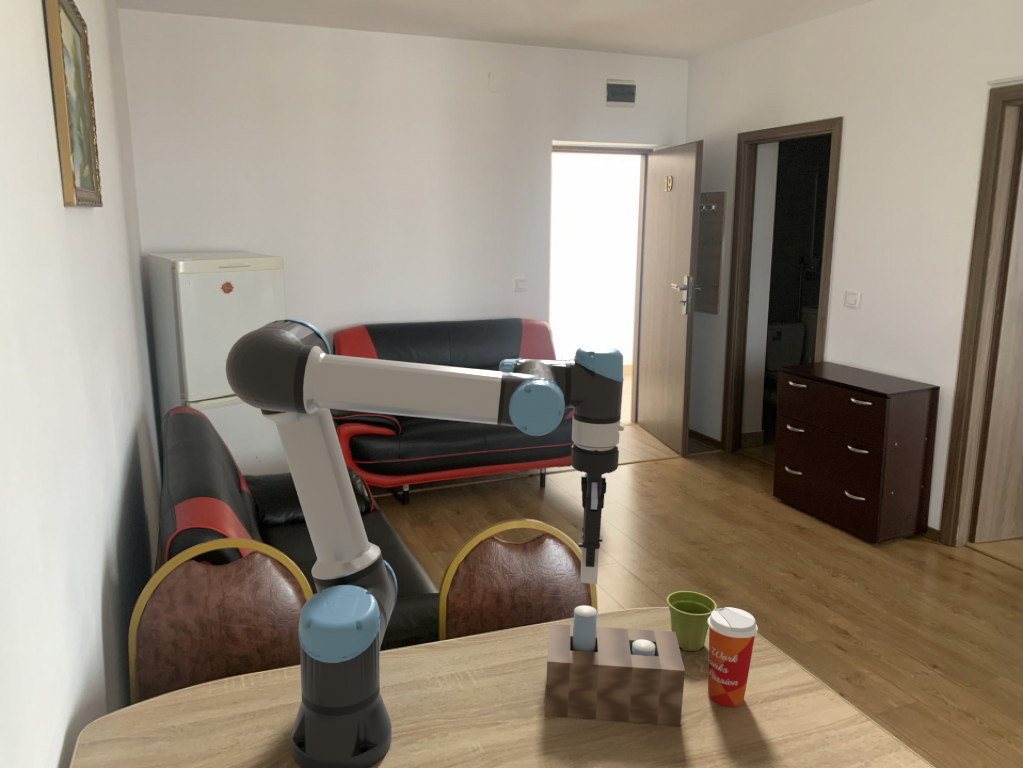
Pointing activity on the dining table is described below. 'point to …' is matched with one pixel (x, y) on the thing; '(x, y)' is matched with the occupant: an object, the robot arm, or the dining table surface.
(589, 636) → the peg
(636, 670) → the collar block
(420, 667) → the dining table surface
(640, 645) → the peg
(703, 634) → the plant pot
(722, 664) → the coffee cup
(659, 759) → the dining table surface
